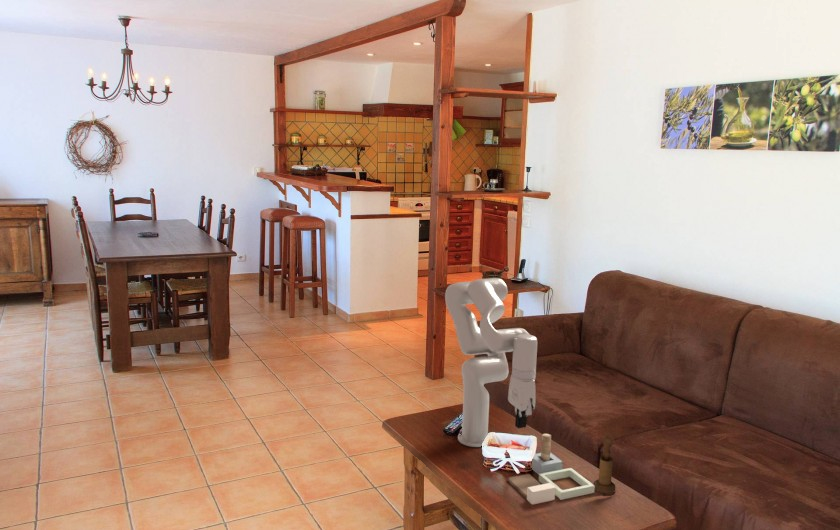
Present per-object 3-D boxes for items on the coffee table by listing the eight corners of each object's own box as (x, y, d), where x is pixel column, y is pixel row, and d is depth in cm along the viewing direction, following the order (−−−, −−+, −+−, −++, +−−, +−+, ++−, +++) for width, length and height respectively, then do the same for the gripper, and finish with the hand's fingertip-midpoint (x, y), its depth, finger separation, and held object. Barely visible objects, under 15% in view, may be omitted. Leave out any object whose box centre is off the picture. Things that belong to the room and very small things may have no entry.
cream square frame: (538, 483, 206) (539, 474, 206) (570, 477, 211) (571, 467, 210) (560, 502, 195) (561, 492, 194) (594, 495, 199) (594, 485, 199)
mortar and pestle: (599, 497, 199) (603, 443, 196) (589, 486, 205) (593, 434, 202) (618, 495, 200) (623, 441, 197) (608, 485, 206) (612, 432, 203)
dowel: (538, 468, 214) (540, 434, 212) (546, 466, 215) (547, 433, 213) (543, 472, 212) (545, 438, 210) (551, 470, 213) (552, 436, 211)
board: (507, 485, 206) (507, 477, 205) (528, 480, 209) (529, 473, 208) (526, 503, 195) (527, 496, 194) (549, 499, 198) (549, 491, 197)
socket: (528, 468, 216) (528, 454, 215) (548, 464, 219) (549, 451, 218) (541, 479, 209) (542, 465, 208) (561, 475, 212) (562, 461, 211)
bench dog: (526, 502, 194) (527, 487, 194) (548, 497, 197) (549, 482, 197) (531, 507, 192) (532, 492, 191) (554, 502, 195) (555, 487, 194)
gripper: (502, 366, 209) (499, 419, 213) (525, 382, 196) (521, 438, 199) (522, 364, 212) (519, 416, 215) (546, 379, 198) (542, 434, 202)
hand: (520, 426), depth 207 cm, fingers closed
